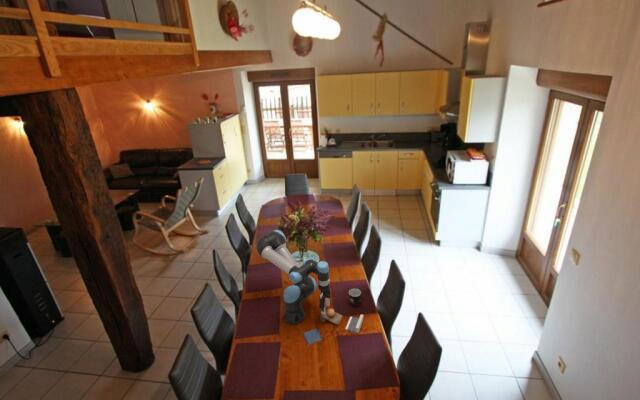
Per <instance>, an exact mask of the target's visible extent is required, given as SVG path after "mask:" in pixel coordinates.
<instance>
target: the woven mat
mask: <svg viewBox="0 0 640 400" xmlns="http://www.w3.org/2000/svg"><path fill="white" fill-rule="evenodd" d="M302 336H303V338H304V340H305V343H306V344H307V346H311V345H313V344H316V343H317V342H318V343H320V342H322V340H323V337H322V335H321V333H320V331H319V330H318V328H315V329H312V330H309V331H308V330H307V331H306V332H303V334H302Z"/></svg>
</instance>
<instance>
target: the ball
mask: <svg viewBox="0 0 640 400" xmlns="http://www.w3.org/2000/svg"><path fill="white" fill-rule="evenodd" d="M335 312H336V311H335V310H334V308H329V310H328V312H327V313H328V315H329V316H333V315H334V314H335Z"/></svg>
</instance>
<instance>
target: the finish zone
mask: <svg viewBox="0 0 640 400" xmlns="http://www.w3.org/2000/svg"><path fill="white" fill-rule="evenodd" d="M363 323H364V314H360V316H359V318H358V317H354V316H350V317H349V319H348V321H347V325H345V331H346V330H347V331H351V332H355V333H356V334H359V333H360V331H361V328H362V325H363Z"/></svg>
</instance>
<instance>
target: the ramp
mask: <svg viewBox="0 0 640 400" xmlns="http://www.w3.org/2000/svg"><path fill="white" fill-rule="evenodd" d="M324 307H325V315H323V314H320V318H319V319H320V323H321V322H322V323H325V322H326V320H327V321H328V322H331V323H333V324H334V325H337V326H339V325H340V324H341V321H342V319H343V317H344V315H342V314H340V313H338V312H337V311H335V314H334V315H333V316H329V315H328V313H327V312H328V310H329V309H330V308H329V307H328V306H324Z"/></svg>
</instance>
